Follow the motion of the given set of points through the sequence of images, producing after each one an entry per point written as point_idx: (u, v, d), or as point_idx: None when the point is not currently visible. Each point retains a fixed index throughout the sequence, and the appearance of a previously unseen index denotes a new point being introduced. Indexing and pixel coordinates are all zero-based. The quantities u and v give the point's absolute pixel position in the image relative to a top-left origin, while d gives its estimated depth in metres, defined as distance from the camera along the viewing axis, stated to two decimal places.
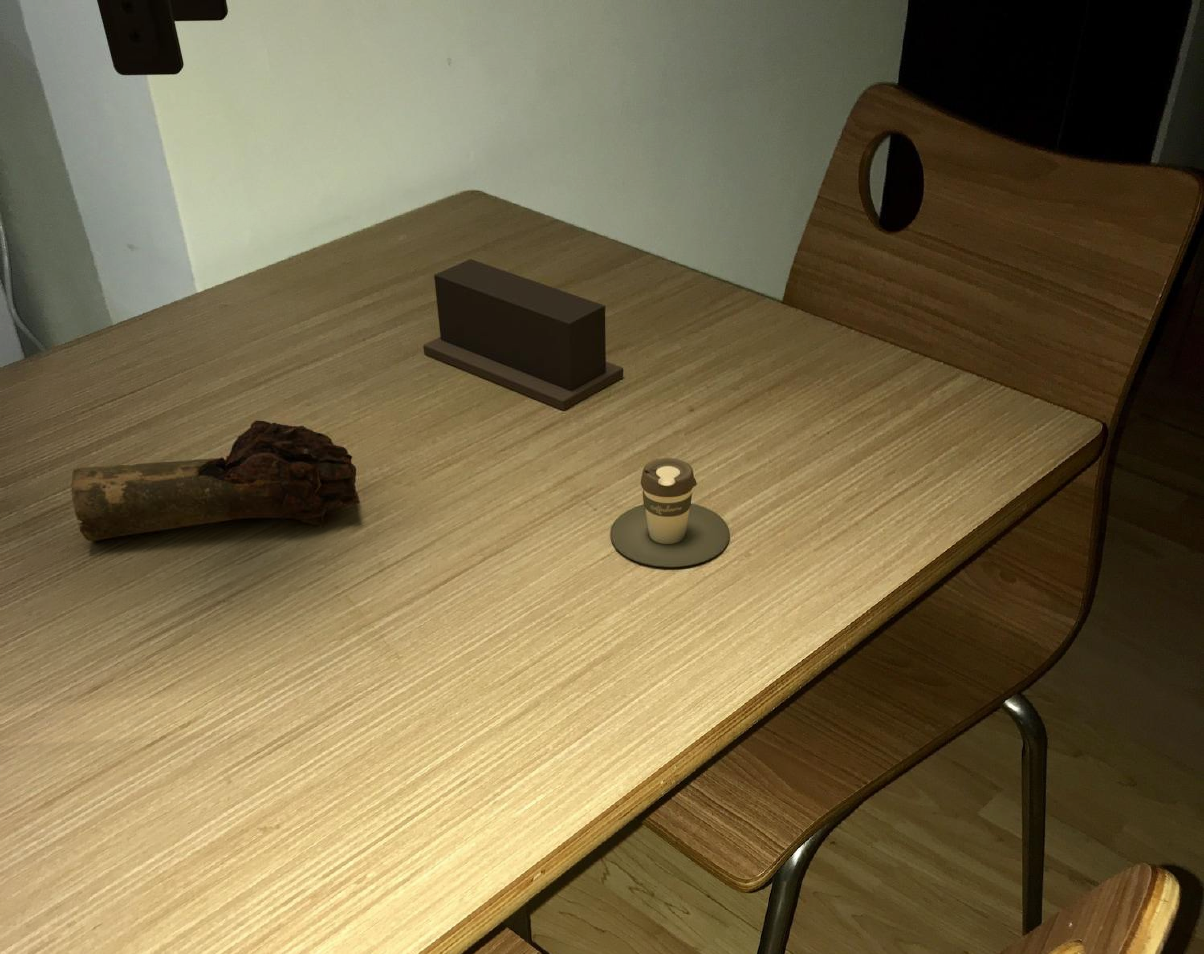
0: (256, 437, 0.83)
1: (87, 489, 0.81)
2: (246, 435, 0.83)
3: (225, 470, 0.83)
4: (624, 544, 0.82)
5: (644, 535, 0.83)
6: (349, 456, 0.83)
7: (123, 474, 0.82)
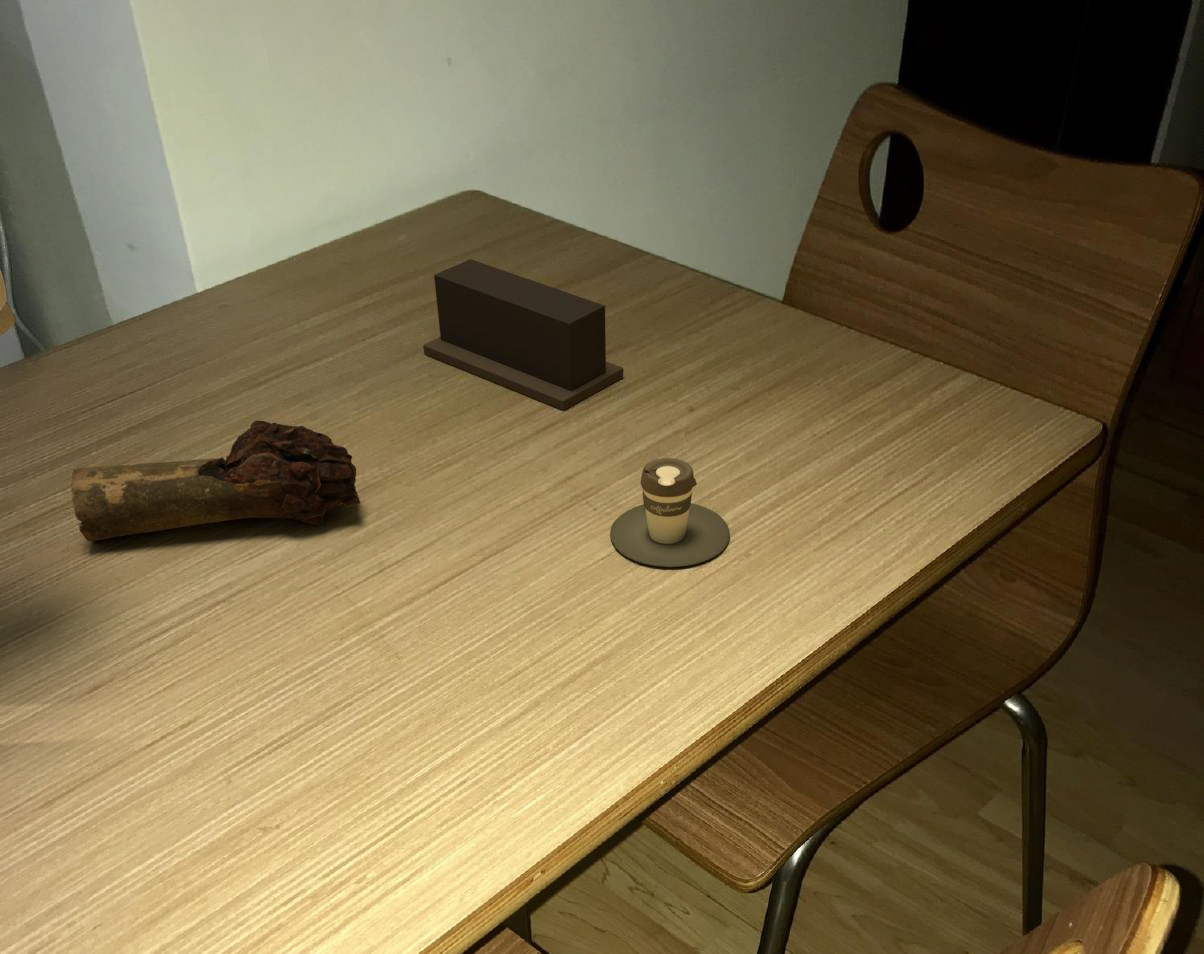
0: (256, 437, 0.83)
1: (87, 489, 0.81)
2: (246, 435, 0.83)
3: (225, 470, 0.83)
4: (624, 544, 0.82)
5: (644, 535, 0.83)
6: (349, 456, 0.83)
7: (123, 474, 0.82)
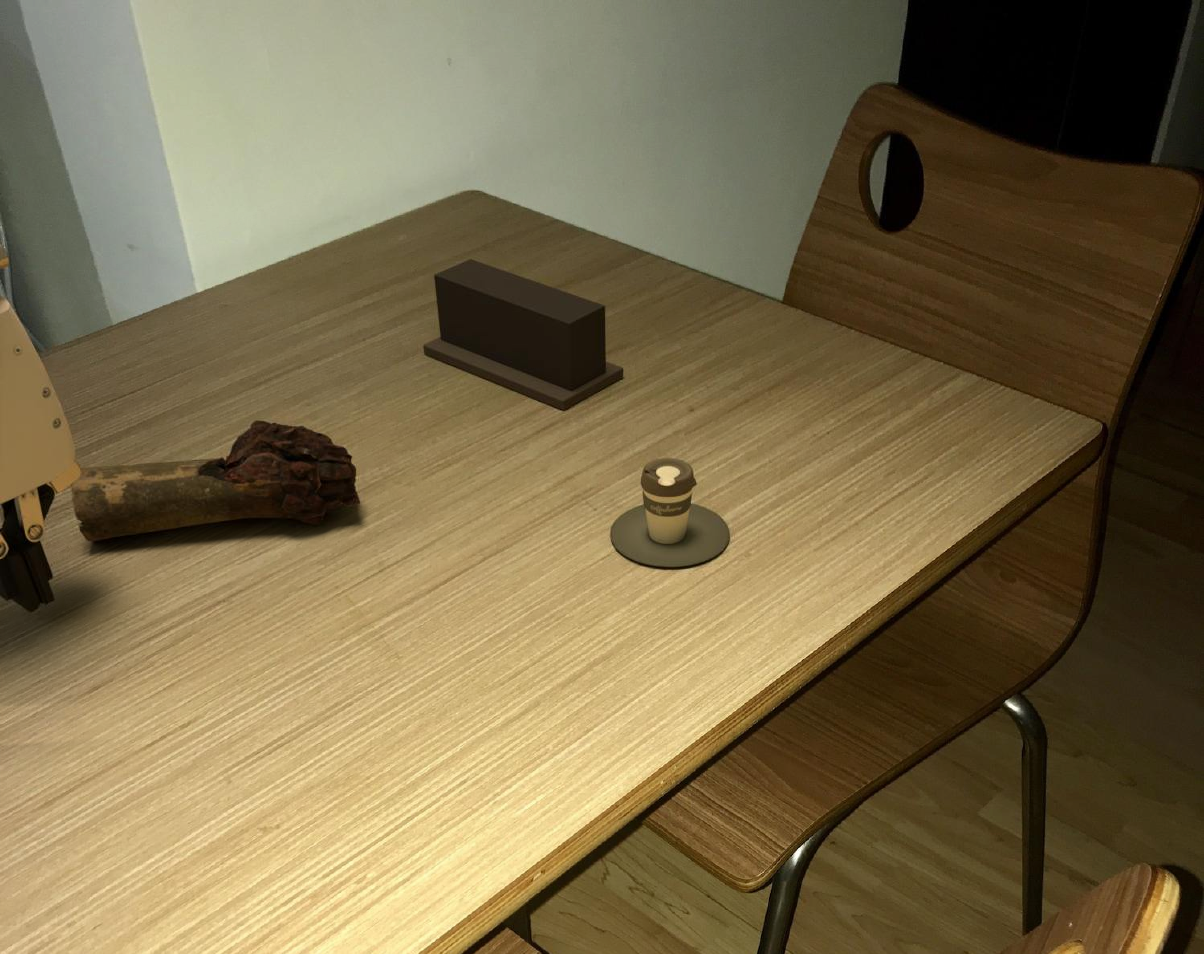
0: (256, 437, 0.83)
1: (87, 489, 0.81)
2: (246, 435, 0.83)
3: (225, 470, 0.83)
4: (624, 544, 0.82)
5: (644, 535, 0.83)
6: (349, 456, 0.83)
7: (123, 474, 0.82)
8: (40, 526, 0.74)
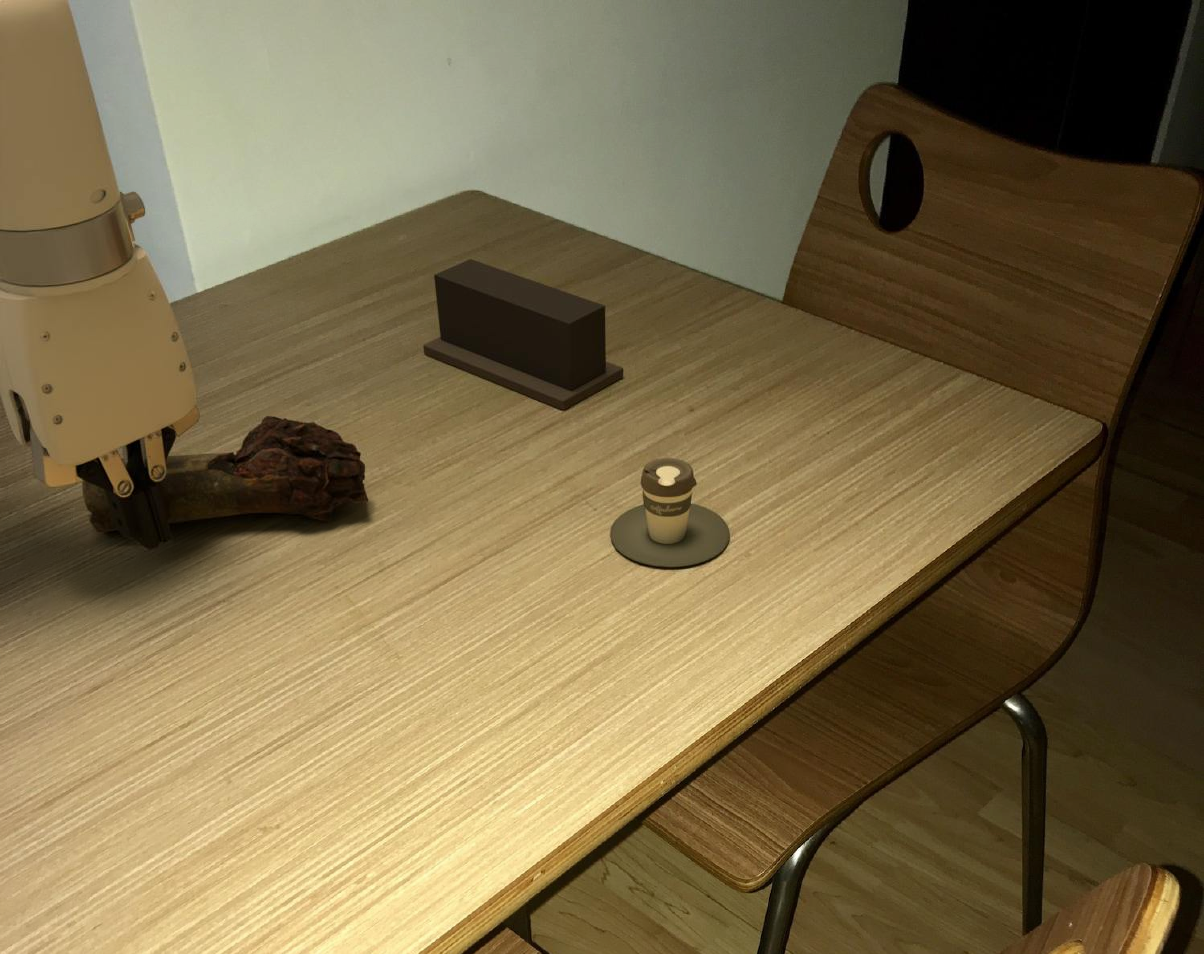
0: (266, 432, 0.83)
1: None
2: (257, 430, 0.84)
3: (235, 465, 0.83)
4: (624, 544, 0.82)
5: (644, 535, 0.83)
6: (358, 453, 0.83)
7: None
8: (162, 466, 0.78)
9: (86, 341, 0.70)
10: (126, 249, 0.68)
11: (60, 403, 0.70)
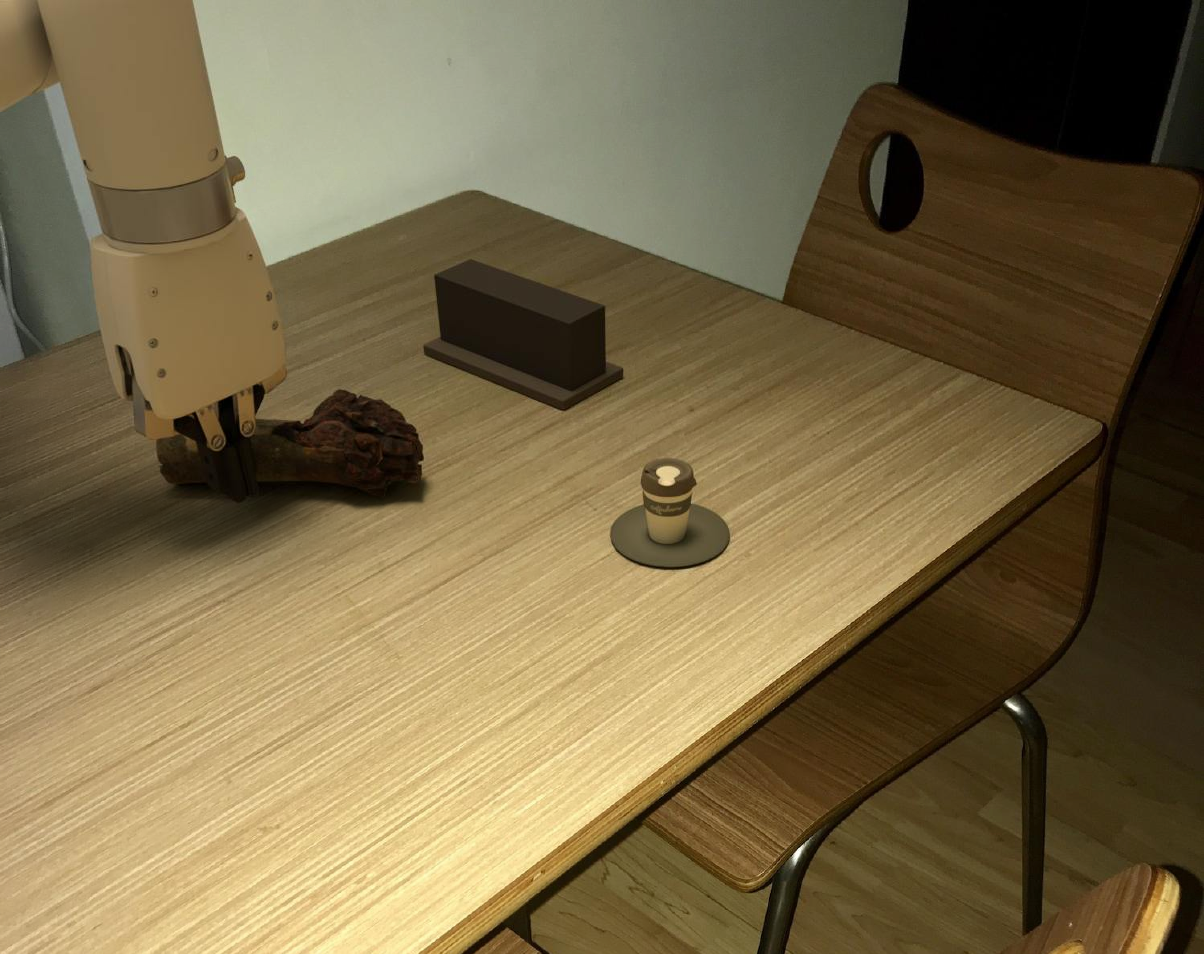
0: (333, 405, 0.86)
1: None
2: (325, 402, 0.86)
3: (300, 433, 0.86)
4: (624, 544, 0.82)
5: (644, 535, 0.83)
6: (415, 434, 0.85)
7: None
8: (252, 422, 0.82)
9: (190, 298, 0.73)
10: (230, 209, 0.72)
11: (164, 357, 0.74)
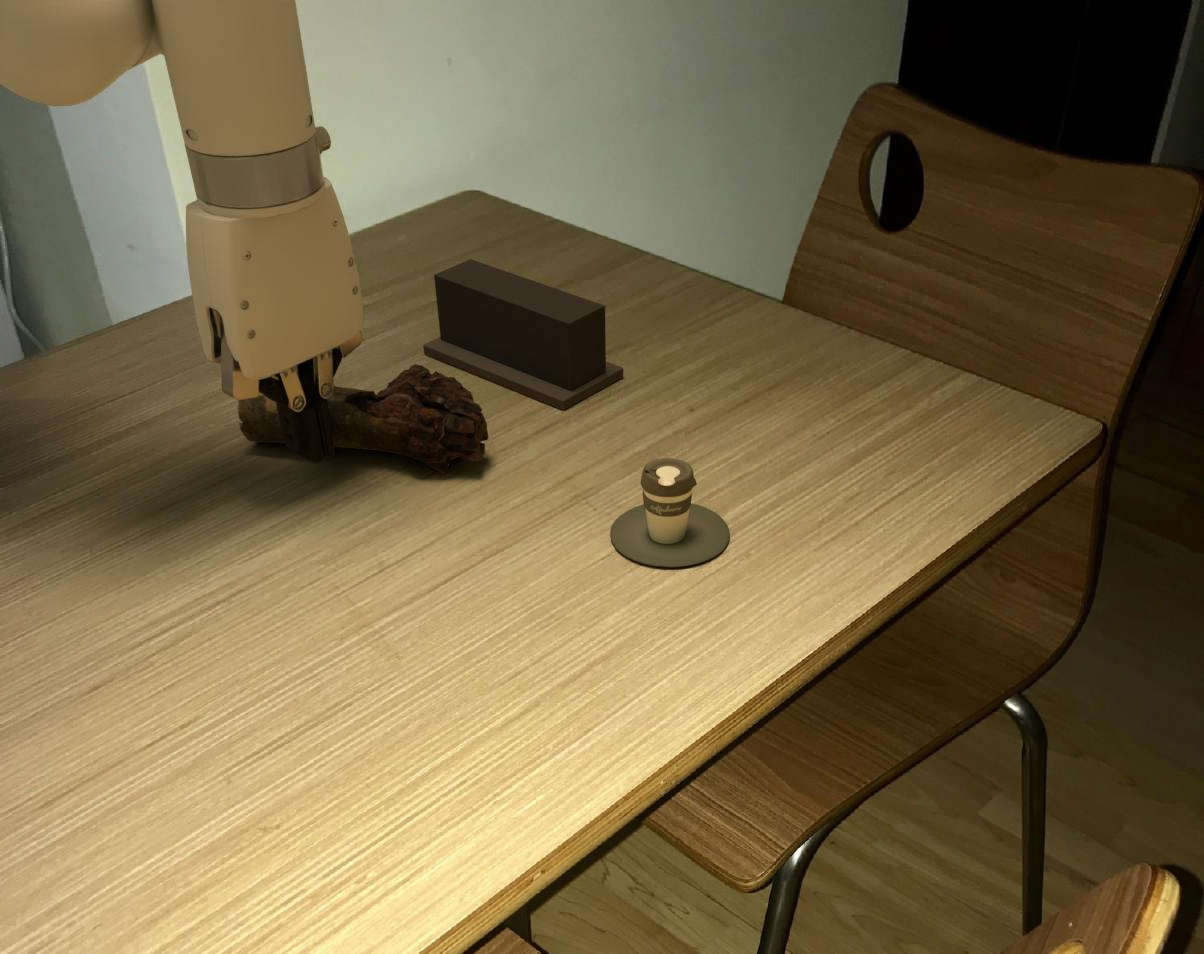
0: (406, 379, 0.88)
1: None
2: (400, 375, 0.89)
3: (372, 403, 0.89)
4: (624, 544, 0.82)
5: (644, 535, 0.83)
6: (479, 413, 0.87)
7: None
8: (330, 385, 0.85)
9: (280, 261, 0.77)
10: (319, 177, 0.75)
11: (254, 319, 0.77)
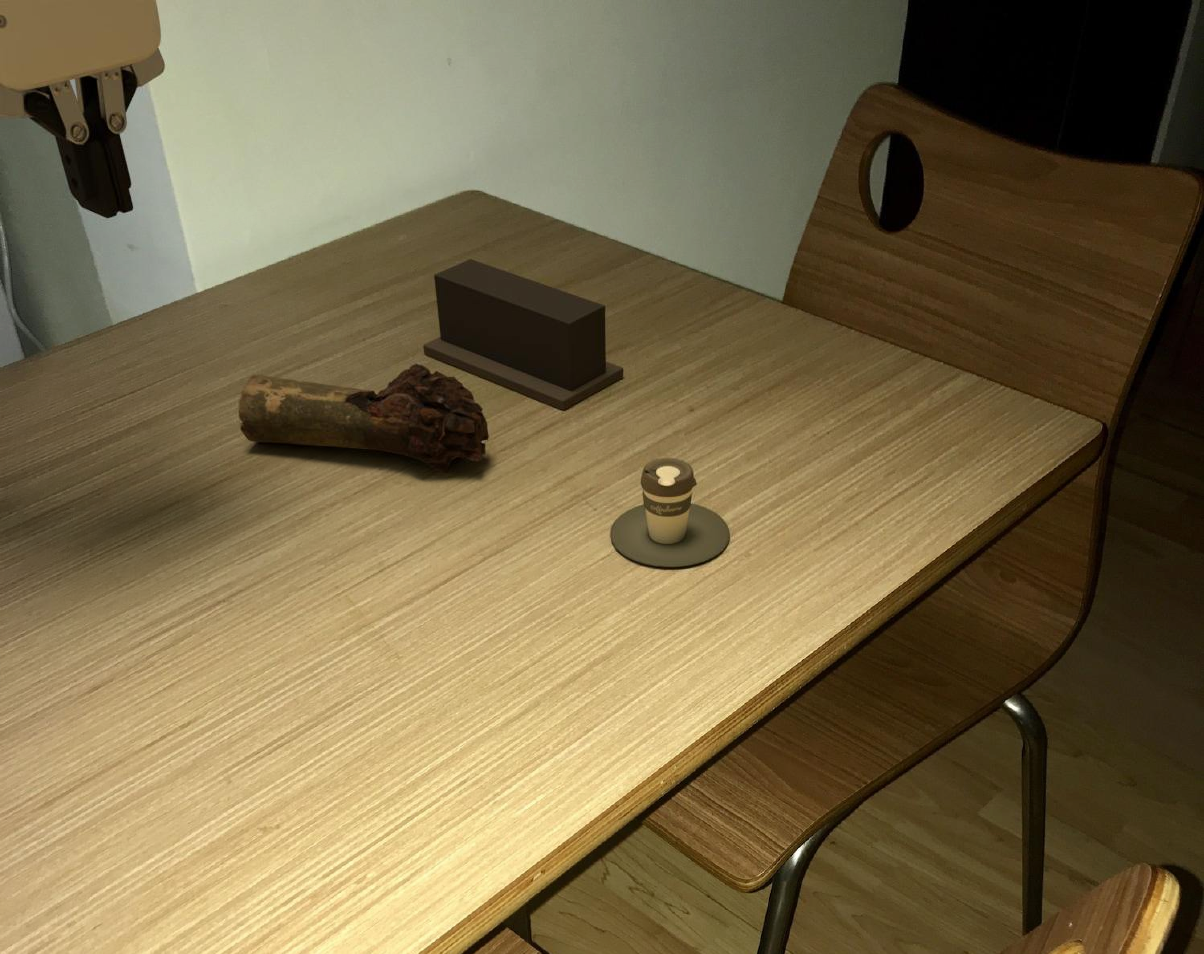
0: (406, 378, 0.88)
1: (253, 394, 0.90)
2: (400, 375, 0.89)
3: (373, 403, 0.89)
4: (624, 544, 0.82)
5: (644, 535, 0.83)
6: (480, 413, 0.87)
7: (287, 388, 0.90)
8: (122, 117, 0.70)
9: None
10: None
11: (3, 0, 0.62)
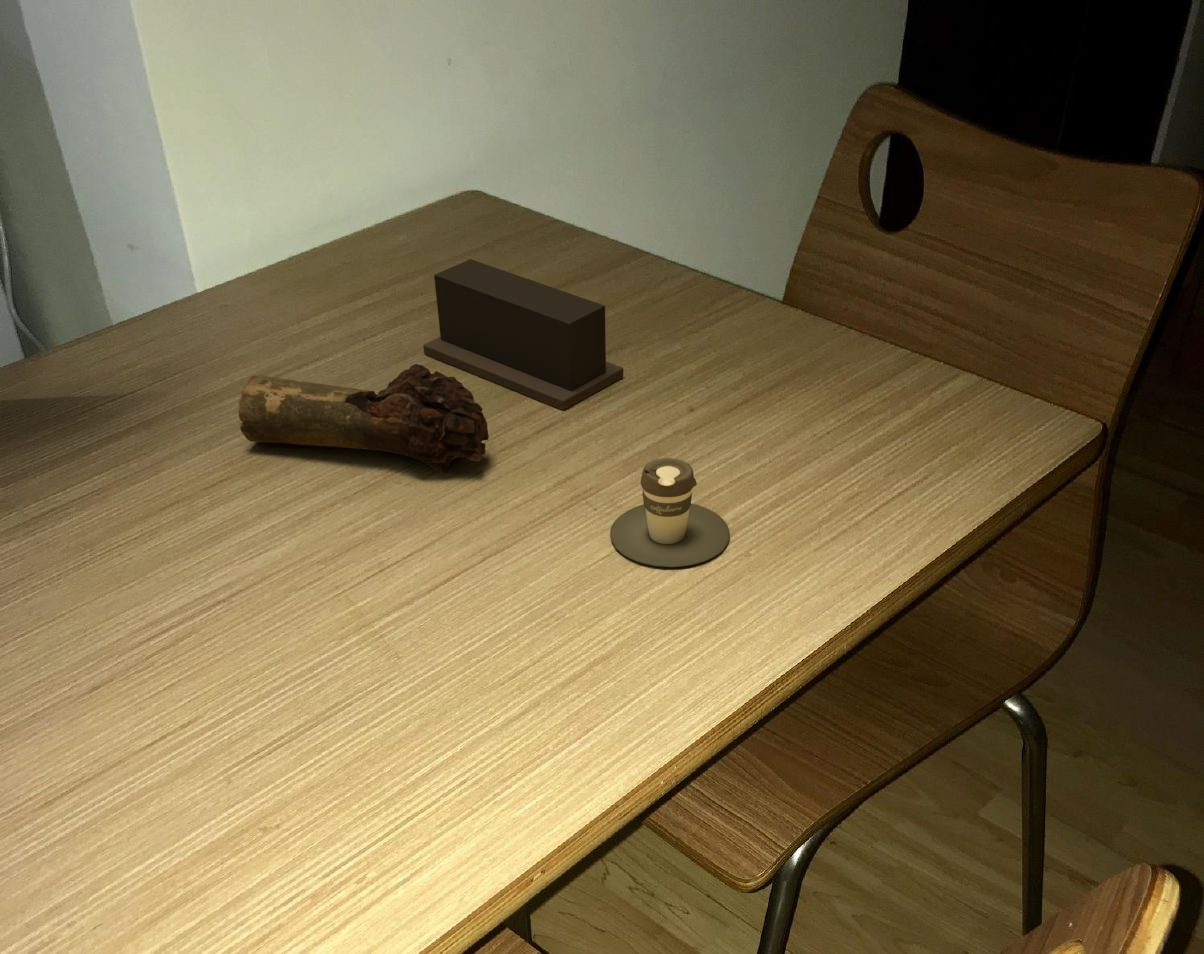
0: (406, 378, 0.88)
1: (253, 394, 0.90)
2: (400, 375, 0.89)
3: (373, 403, 0.89)
4: (624, 544, 0.82)
5: (644, 535, 0.83)
6: (480, 413, 0.87)
7: (286, 388, 0.90)
8: None
9: None
10: None
11: None
